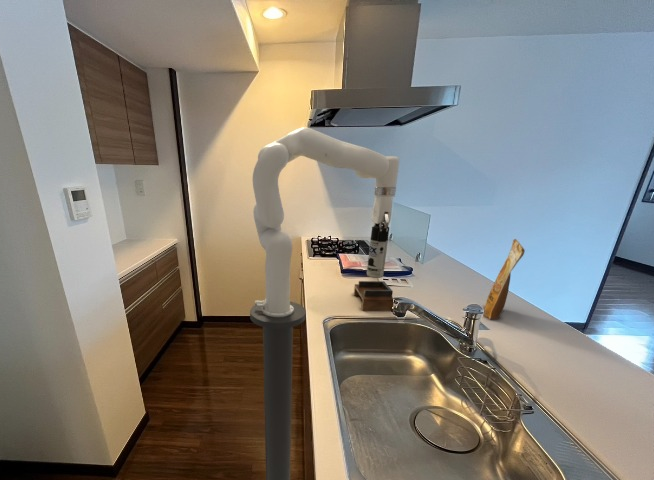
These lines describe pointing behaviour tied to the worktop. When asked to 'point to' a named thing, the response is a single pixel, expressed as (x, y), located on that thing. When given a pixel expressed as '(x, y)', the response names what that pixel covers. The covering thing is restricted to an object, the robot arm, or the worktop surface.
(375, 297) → the dark wooden tray box
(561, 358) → the worktop surface
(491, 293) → the pancake mix bag
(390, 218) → the robot arm
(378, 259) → the spray can
